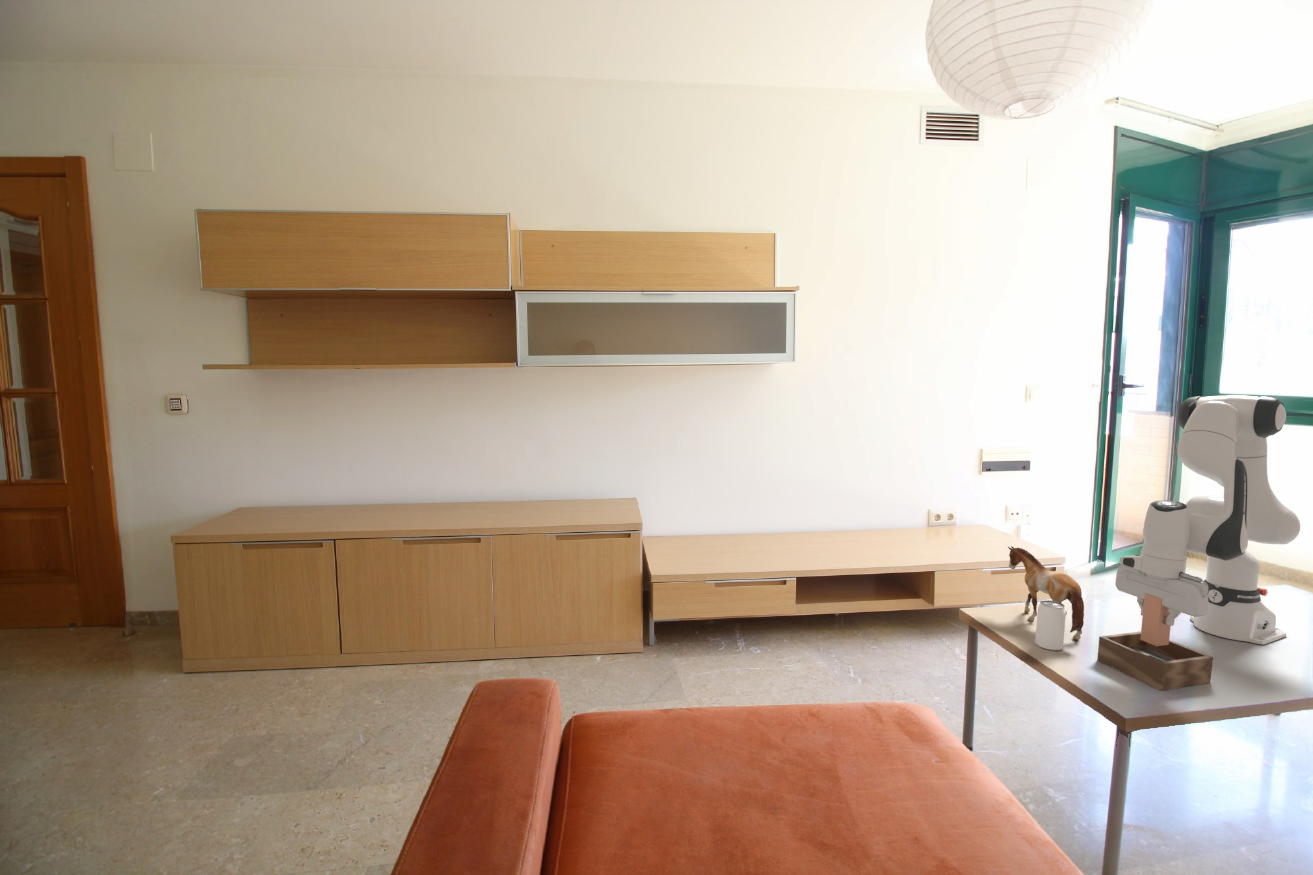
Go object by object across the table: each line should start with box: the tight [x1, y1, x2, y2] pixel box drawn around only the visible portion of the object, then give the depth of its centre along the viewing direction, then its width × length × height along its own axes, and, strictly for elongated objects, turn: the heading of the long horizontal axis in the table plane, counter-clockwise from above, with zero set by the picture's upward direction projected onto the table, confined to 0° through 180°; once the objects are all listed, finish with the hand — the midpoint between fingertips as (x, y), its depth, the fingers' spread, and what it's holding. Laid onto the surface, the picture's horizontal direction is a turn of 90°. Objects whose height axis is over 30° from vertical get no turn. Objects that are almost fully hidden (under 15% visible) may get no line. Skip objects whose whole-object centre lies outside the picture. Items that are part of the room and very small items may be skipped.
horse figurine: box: [1007, 546, 1085, 640], centre depth 184 cm, size 31×8×21 cm, turn 5°
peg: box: [1140, 594, 1172, 646], centre depth 157 cm, size 4×4×12 cm
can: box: [1034, 599, 1067, 652], centre depth 172 cm, size 6×6×12 cm
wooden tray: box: [1096, 631, 1214, 691], centre depth 158 cm, size 16×16×6 cm
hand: (1156, 620), depth 157 cm, fingers closed on peg, 4 cm apart
